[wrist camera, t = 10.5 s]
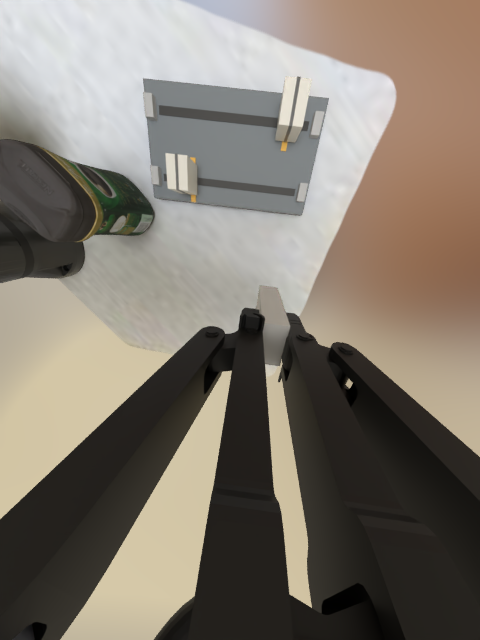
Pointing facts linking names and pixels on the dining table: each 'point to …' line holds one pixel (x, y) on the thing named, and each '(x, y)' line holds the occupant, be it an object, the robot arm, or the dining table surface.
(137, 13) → the dining table surface
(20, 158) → the coffee jar
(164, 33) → the dining table surface
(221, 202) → the console
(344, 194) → the dining table surface
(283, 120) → the fader
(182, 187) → the fader
